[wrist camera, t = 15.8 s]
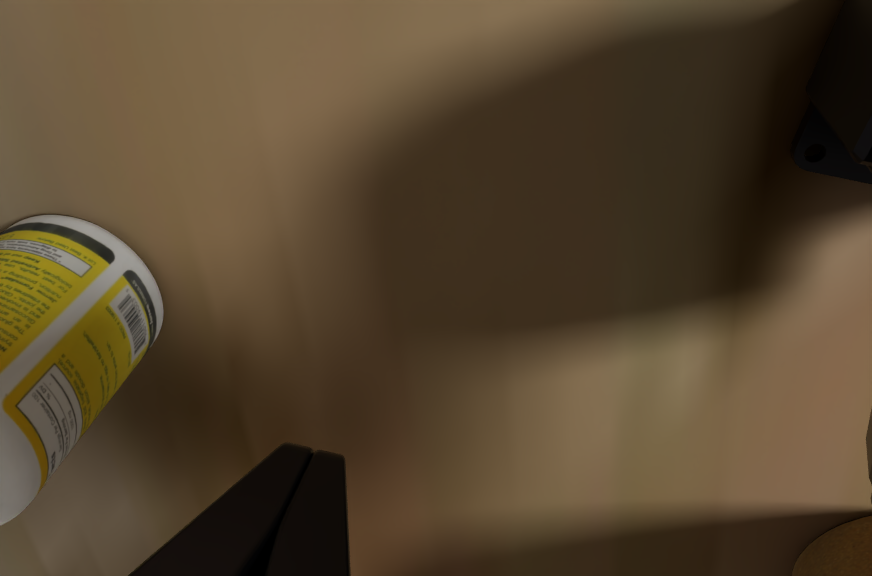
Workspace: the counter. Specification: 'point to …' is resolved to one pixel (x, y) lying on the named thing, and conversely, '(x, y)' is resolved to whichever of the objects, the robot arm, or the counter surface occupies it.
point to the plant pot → (839, 552)
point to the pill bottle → (63, 341)
